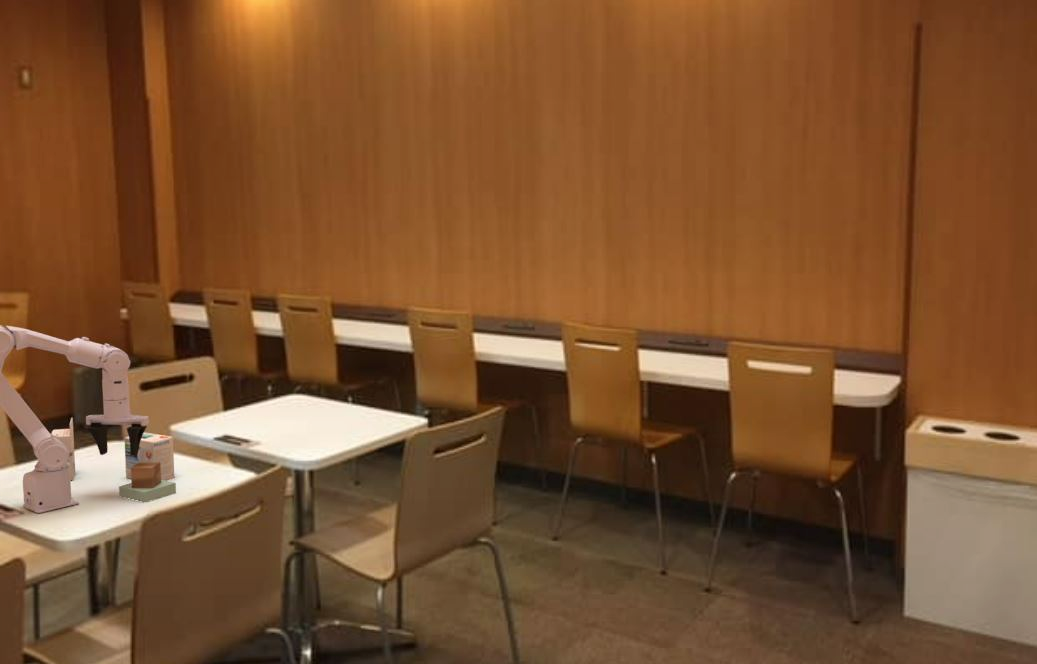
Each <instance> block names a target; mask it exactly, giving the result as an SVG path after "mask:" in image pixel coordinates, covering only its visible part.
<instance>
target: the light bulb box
mask: <svg viewBox="0 0 1037 664" xmlns="http://www.w3.org/2000/svg"><path fill="white" fill-rule="evenodd" d="M124 456H125V458H124V459H125V478H126V479H130V480H132V479H131V467H133V466H134V465H136V464H137V463H139V462H160V464H161V480H165V481H168V480H171V479H174V478H175V477H176V476H175V459H174V458H175V453H174V437H173V436H169V435H163V434H157V433H150V432H145V431H144V433H143V435H142V438H141V441H140V445H139V449H138V454H136V455H135V456H131V452H130V439H129V436H126V437H124Z"/></svg>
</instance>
